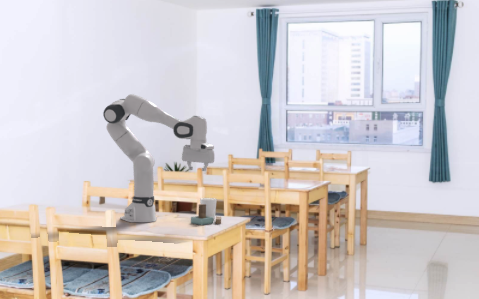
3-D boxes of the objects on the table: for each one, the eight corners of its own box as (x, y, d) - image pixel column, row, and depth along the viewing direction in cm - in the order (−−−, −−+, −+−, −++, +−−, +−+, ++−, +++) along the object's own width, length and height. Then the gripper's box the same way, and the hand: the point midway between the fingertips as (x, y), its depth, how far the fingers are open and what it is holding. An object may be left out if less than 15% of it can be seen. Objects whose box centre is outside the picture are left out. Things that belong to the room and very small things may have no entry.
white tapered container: (214, 220, 350) (214, 200, 350) (197, 219, 352) (198, 199, 352) (217, 218, 360) (218, 198, 359) (202, 217, 362) (202, 197, 361)
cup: (190, 223, 340) (191, 217, 340) (202, 221, 347) (202, 215, 347) (201, 225, 334) (201, 219, 334) (213, 223, 341) (213, 217, 340)
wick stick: (198, 221, 340) (198, 204, 340) (201, 221, 343) (201, 203, 342) (202, 222, 338) (202, 204, 338) (205, 221, 341) (206, 204, 340)
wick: (216, 221, 349) (216, 216, 349) (221, 221, 349) (221, 216, 349) (215, 224, 339) (215, 219, 339) (220, 224, 339) (220, 219, 339)
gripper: (179, 144, 333) (179, 169, 334) (209, 146, 322) (208, 172, 322) (187, 144, 338) (186, 169, 339) (216, 146, 327) (215, 171, 328)
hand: (197, 170), depth 331 cm, fingers open, 8 cm apart
